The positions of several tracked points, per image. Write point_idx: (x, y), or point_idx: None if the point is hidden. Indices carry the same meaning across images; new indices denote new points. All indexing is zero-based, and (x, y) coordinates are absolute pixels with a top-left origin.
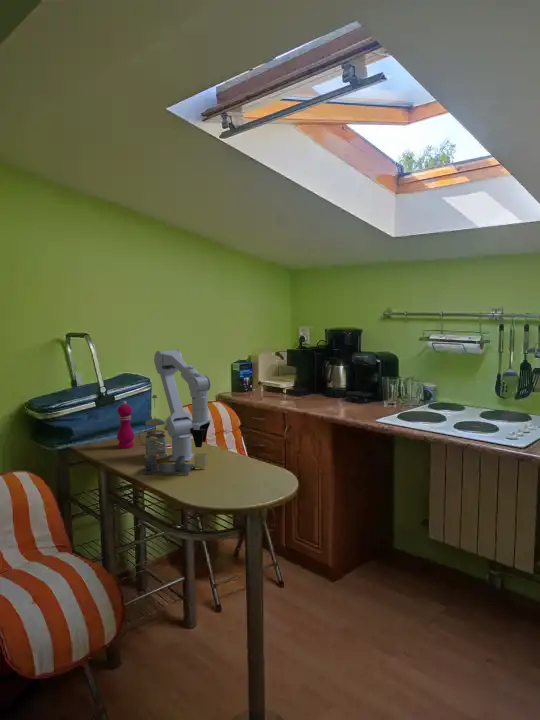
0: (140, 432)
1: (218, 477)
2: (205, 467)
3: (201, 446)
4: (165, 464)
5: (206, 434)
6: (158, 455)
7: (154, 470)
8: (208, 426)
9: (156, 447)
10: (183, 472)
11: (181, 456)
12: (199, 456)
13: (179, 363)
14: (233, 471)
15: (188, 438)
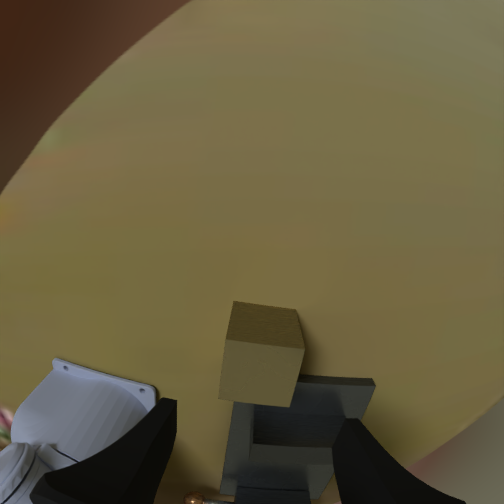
0: None
1: (437, 234)
2: (291, 312)
3: (352, 420)
4: (236, 466)
5: (147, 435)
6: (193, 500)
7: (311, 483)
8: (120, 496)
9: None
10: (368, 402)
11: (261, 454)
12: (296, 381)
13: None
14: (356, 144)
15: (82, 459)
